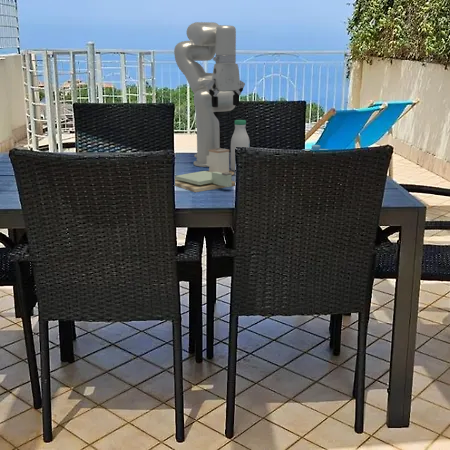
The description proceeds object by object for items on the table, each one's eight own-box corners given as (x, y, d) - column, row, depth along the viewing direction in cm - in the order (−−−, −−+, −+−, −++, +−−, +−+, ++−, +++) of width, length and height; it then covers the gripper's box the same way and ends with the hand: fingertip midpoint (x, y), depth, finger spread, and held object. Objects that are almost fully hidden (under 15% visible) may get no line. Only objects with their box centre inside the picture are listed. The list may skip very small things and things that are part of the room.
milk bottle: (247, 171, 246) (248, 121, 240) (229, 171, 247) (228, 121, 242) (251, 168, 253) (251, 119, 247) (232, 167, 254) (232, 119, 249)
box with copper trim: (217, 174, 238) (217, 151, 235) (204, 171, 244) (204, 148, 241) (229, 172, 241) (229, 149, 239) (216, 169, 247) (216, 147, 245)
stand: (168, 183, 225) (167, 179, 225) (208, 177, 235) (208, 173, 235) (194, 192, 211) (194, 187, 211) (236, 185, 221) (236, 181, 221)
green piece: (214, 189, 208) (214, 176, 206) (174, 179, 223) (174, 167, 222) (244, 183, 217) (244, 170, 215) (204, 174, 232) (204, 162, 231)
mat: (197, 173, 243) (197, 171, 243) (222, 169, 250) (222, 168, 250) (215, 178, 234) (215, 176, 233) (240, 174, 240) (240, 173, 240)
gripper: (211, 60, 223) (211, 108, 228) (250, 59, 232) (249, 105, 237) (200, 60, 229) (201, 106, 234) (238, 59, 238) (238, 104, 243)
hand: (225, 106), depth 235 cm, fingers open, 9 cm apart
